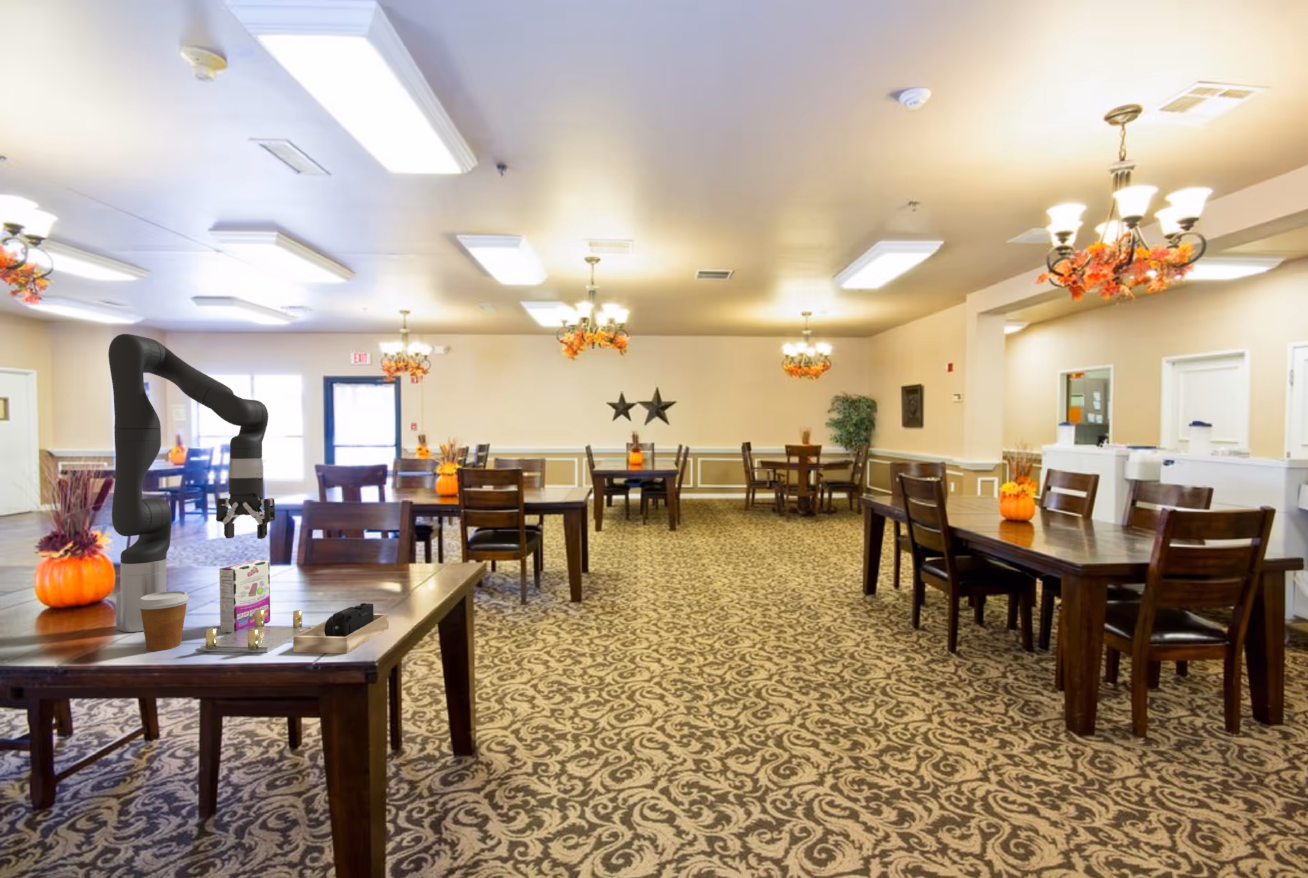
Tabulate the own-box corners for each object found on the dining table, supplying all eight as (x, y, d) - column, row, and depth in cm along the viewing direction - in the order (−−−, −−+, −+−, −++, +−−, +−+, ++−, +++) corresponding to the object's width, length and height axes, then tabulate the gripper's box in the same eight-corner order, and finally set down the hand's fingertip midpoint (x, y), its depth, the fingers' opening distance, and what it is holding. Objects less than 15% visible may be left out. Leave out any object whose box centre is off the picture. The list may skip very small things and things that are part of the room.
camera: (352, 629, 160) (353, 598, 160) (378, 630, 159) (378, 599, 159) (314, 647, 145) (315, 613, 146) (343, 649, 144) (343, 614, 145)
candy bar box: (255, 620, 167) (255, 559, 167) (270, 621, 166) (271, 560, 166) (218, 632, 156) (218, 567, 156) (234, 634, 155) (235, 568, 155)
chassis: (195, 653, 141) (195, 630, 141) (251, 629, 159) (251, 609, 159) (262, 654, 140) (262, 631, 140) (311, 630, 158) (311, 610, 158)
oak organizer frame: (293, 652, 142) (293, 636, 142) (341, 626, 162) (341, 613, 162) (346, 653, 141) (346, 637, 141) (388, 627, 161) (388, 614, 161)
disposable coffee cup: (147, 656, 139) (147, 602, 139) (130, 648, 144) (130, 596, 144) (196, 644, 147) (196, 593, 147) (178, 637, 152) (179, 588, 152)
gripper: (208, 476, 158) (208, 540, 158) (262, 476, 157) (262, 540, 157) (230, 475, 166) (230, 535, 166) (281, 475, 165) (281, 536, 165)
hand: (245, 538), depth 161 cm, fingers open, 8 cm apart
